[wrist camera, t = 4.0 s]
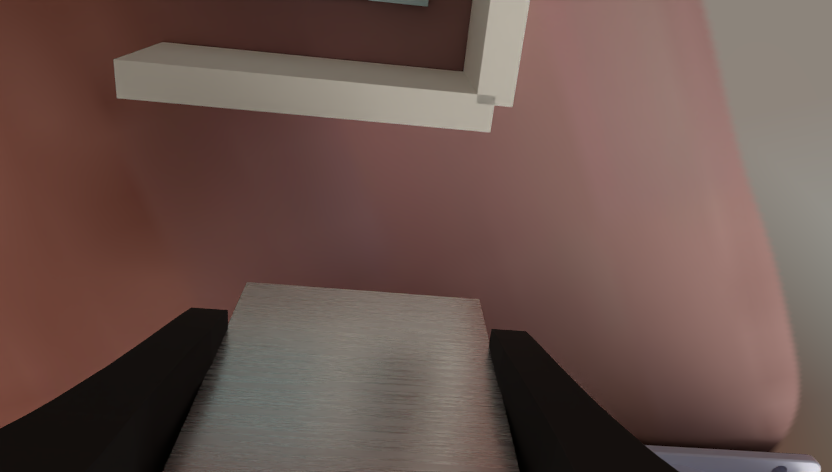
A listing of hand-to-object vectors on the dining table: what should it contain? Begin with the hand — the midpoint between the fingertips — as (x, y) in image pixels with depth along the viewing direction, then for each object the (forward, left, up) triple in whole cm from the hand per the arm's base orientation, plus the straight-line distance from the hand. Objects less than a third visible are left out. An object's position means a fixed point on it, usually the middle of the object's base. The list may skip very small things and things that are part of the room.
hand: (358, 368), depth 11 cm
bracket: (0, +2, -2) cm, 2 cm away
